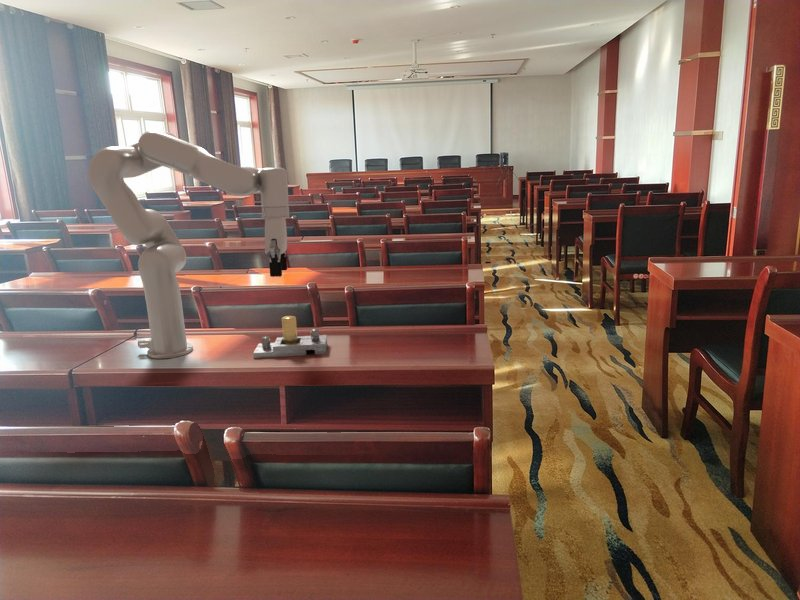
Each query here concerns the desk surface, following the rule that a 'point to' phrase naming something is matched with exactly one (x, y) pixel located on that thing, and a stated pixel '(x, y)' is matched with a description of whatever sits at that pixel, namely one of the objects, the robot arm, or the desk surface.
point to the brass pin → (289, 330)
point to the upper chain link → (304, 343)
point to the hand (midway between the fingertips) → (279, 273)
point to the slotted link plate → (267, 350)
